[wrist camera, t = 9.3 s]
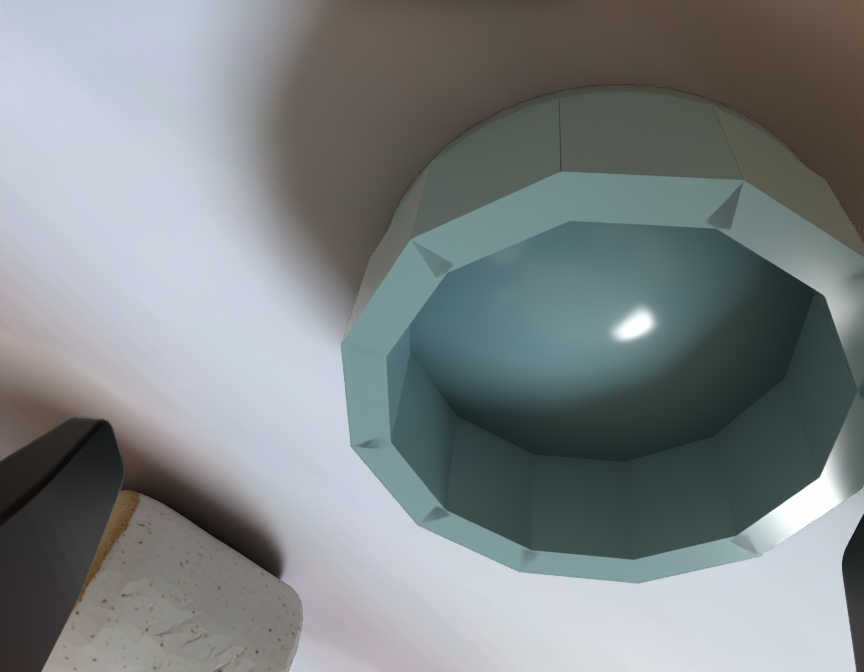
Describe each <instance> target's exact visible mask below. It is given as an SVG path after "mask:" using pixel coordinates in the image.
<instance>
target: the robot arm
mask: <svg viewBox="0 0 864 672" xmlns="http://www.w3.org/2000/svg"><path fill="white" fill-rule="evenodd" d="M124 474H125V467H124V462H123V458H122V455H121V452H120V449H119V446H118V443H117V440H116V436H115V433H114V430H113V427H112V425H111V424H110V423H109V422H108V421H107V420H105V419H103V418H94V417H85V416H75V417H72V418H70V419H68V420H67V421H65V422H63V423H62V424H60V425H58V426H57V427H55V428H53V429H52V430H50V431H49V432H47V433H45V434H44V435H42V436H40V437H39V438H37V439H35V440H34V441H32V442H31V443H29V444H27V445H26V446H24V447H22V448H21V449H19V450H17V451H16V452H14V453H13V454H11V455H9V456H8V457H6V458H4V459H3V460H1V461H0V672H42V670H43V668H44V666H45V664H46V662H47V660H48V658H49V656H50V654H51V652H52V650H53V648H54V646H55V644H56V642H57V640H58V638H59V636H60V634H61V632H62V630H63V629H64V627H65V625H66V623H67V621H68V619H69V617H70V615H71V613H72V611H73V609H74V606H75V604H76V602H77V600H78V598H79V596H80V594H81V592H82V589H83V587H84V584H85V582H86V580H87V577H88V575H89V572H90V569H91V567H92V564H93V561H94V559H95V556H96V553H97V551H98V548H99V545H100V543H101V540H102V537H103V535H104V532H105V529H106V527H107V524H108V521H109V519H110V516H111V513H112V511H113V508H114V505H115V503H116V500H117V497H118V495H119V492H120V489H121V487H122V484H123V480H124ZM842 573H843V581H844V588H845V595H846V602H847V609H848V616H849V623H850V630H851V637H852V644H853V651H854V658H855V665H856V672H864V514H863V516H862V518H861V520H860V522H859V524H858V526H857V528H856V529H855V531H854V533H853V535H852V537H851V539H850V541H849V543H848V545H847V547H846V549H845V551H844V555H843V560H842Z"/></svg>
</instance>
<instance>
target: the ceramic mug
mask: <svg viewBox="0 0 864 672" xmlns="http://www.w3.org/2000/svg"><path fill="white" fill-rule="evenodd" d="M302 621H303V613H302V603H301V600H300V598H299V596H298V594H297V593H296V592H295V591H294V589H293V588H292V587H291V586H289V585H288V584H286V583H284V582H283V581H281V580H280V579H278V578H276V577H275V576H273V575H272V574H270V573H269V572H267V571H266V570H264V569H263V568H261V567H260V566H258V565H257V564H255V563H254V562H252V561H251V560H249V559H248V558H246V557H245V556H243V555H242V554H240V553H239V552H237V551H235V550H234V549H232V548H231V547H229V546H227V545H226V544H224V543H222V542H221V541H219V540H218V539H216V538H214V537H213V536H211V535H210V534H208V533H207V532H205V531H204V530H202V529H201V528H200V527H198V526H197V525H195V524H194V523H192V522H191V521H189V520H188V519H186V518H185V517H183V516H182V515H180V514H179V513H177V512H176V511H174V510H173V509H171V508H169V507H168V506H166V505H164V504H163V503H161V502H159V501H157V500H154V499H152V498H150V497H148V496H145V495H143V494H140V493H138V492H135V491H132V490H120V492H119V495H118V497H117V500H116V503H115V505H114V508H113V511H112V513H111V516H110V519H109V521H108V524H107V527H106V529H105V532H104V535H103V537H102V540H101V543H100V545H99V548H98V551H97V553H96V556H95V559H94V561H93V564H92V567H91V569H90V572H89V575H88V577H87V580H86V582H85V584H84V587H83V589H82V592H81V594H80V596H79V598H78V600H77V602H76V604H75V606H74V609H73V611H72V613H71V615H70V617H69V619H68V621H67V623H66V625H65V627H64V629H63V630H62V632H61V634H60V636H59V638H58V640H57V642H56V644H55V646H54V648H53V650H52V652H51V654H50V656H49V658H48V660H47V662H46V664H45V666H44V668H43V670H42V672H289V670H290V667H291V664H292V662H293V659H294V657H295V654H296V652H297V648H298V643H299V639H300V634H301V628H302Z"/></svg>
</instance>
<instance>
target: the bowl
mask: <svg viewBox="0 0 864 672" xmlns="http://www.w3.org/2000/svg"><path fill="white" fill-rule="evenodd" d="M341 351H342V361H343V371H344V381H345V392H346V402H347V412H348V423H349V433H350V443H351V447H352V449H353V450H354V451H355V452H356V453H357V455H358V456H359V457H360V458H361V459H362V460H363V462H364V463H365V464H366V465H367V466H368V467H369V469H370V470H371V471H372V472H373V473H374V475H375V476H376V477H377V478H378V479H379V480H380V482H381V483H382V484H383V485H384V486H385V488H386V489H387V490H388V491H389V492H390V493H391V495H392V496H393V497H394V498H395V499H396V500H397V502H398V503H399V504H400V505H401V506H402V508H403V509H404V510H405V511H406V512H407V513H408V515H409V516H410V517H411V518H412V519H413V520H414V522H415V523H416V524H417V525H418V526H420V527H422V528H425V529H427V530H429V531H431V532H433V533H435V534H438V535H440V536H442V537H444V538H446V539H448V540H451V541H453V542H455V543H457V544H459V545H461V546H464V547H466V548H468V549H470V550H472V551H475V552H477V553H479V554H481V555H483V556H485V557H488V558H490V559H492V560H494V561H496V562H498V563H501V564H503V565H505V566H507V567H509V568H511V569H514V570H516V571H518V572H524V573H535V574H545V575H555V576H566V577H576V578H587V579H597V580H607V581H618V582H628V583H643V582H647V581H652V580H656V579H661V578H665V577H670V576H674V575H679V574H683V573H688V572H692V571H697V570H701V569H706V568H710V567H715V566H719V565H724V564H728V563H733V562H737V561H742V560H746V559H751V558H756V557H759V556H761V555H763V554H764V553H766V552H767V551H769V550H770V549H772V548H773V547H775V546H776V545H778V544H779V543H781V542H782V541H784V540H785V539H787V538H788V537H790V536H791V535H793V534H794V533H796V532H797V531H799V530H800V529H802V528H803V527H805V526H806V525H808V524H809V523H811V522H812V521H814V520H815V519H817V518H818V517H820V516H821V515H823V514H824V513H826V512H827V511H829V510H831V509H832V508H834V507H835V506H837V505H838V504H840V503H841V502H843V501H844V500H846V499H847V498H849V497H850V496H852V495H853V494H855V493H856V492H858V491H859V490H861V489H862V487H863V485H864V243H863V241H862V239H861V238H860V236H859V234H858V233H857V231H856V229H855V228H854V226H853V224H852V223H851V221H850V219H849V218H848V216H847V214H846V213H845V211H844V209H843V208H842V206H841V204H840V203H839V201H838V199H837V198H836V196H835V194H834V193H833V191H832V189H831V188H830V186H829V184H828V183H827V181H826V180H825V179H824V178H822V177H821V176H819V175H818V174H816V173H815V172H813V171H812V170H810V169H809V168H807V167H806V166H805V165H804V164H803V163H802V161H801V160H800V159H799V158H798V157H797V156H796V155H795V154H794V153H793V152H792V151H791V150H790V148H789V147H788V146H787V145H786V144H785V143H784V142H782V141H781V140H780V139H778V138H777V137H776V136H775V135H773V134H772V133H771V132H770V131H768V130H767V129H766V128H764V127H763V126H762V125H761V124H759V123H757V122H755V121H753V120H752V119H750V118H748V117H746V116H745V115H743V114H741V113H739V112H738V111H736V110H734V109H732V108H730V107H727V106H724V105H722V104H719V103H717V102H714V101H712V100H709V99H706V98H704V97H701V96H697V95H693V94H689V93H685V92H681V91H676V90H672V89H668V88H660V87H650V86H640V85H597V86H589V87H583V88H576V89H569V90H563V91H558V92H555V93H551V94H547V95H544V96H540V97H537V98H533V99H530V100H526V101H524V102H522V103H519V104H517V105H515V106H512V107H510V108H507V109H505V110H503V111H500V112H498V113H496V114H494V115H492V116H490V117H489V118H487V119H485V120H484V121H482V122H480V123H478V124H477V125H475V126H473V127H472V128H470V129H468V130H467V131H465V132H464V133H463V134H461V135H460V136H459V137H458V138H456V139H455V140H454V141H452V142H451V143H450V144H449V145H447V146H446V147H445V148H443V149H442V150H441V151H440V152H439V153H438V154H437V155H436V156H435V157H434V158H433V159H432V160H431V161H430V162H429V163H428V164H427V165H426V166H425V167H424V169H423V170H422V171H421V172H420V173H419V175H418V176H417V177H416V179H415V180H414V181H413V183H412V184H411V186H410V187H409V188H408V190H407V191H406V192H405V194H404V196H403V198H402V199H401V201H400V203H399V205H398V207H397V209H396V211H395V213H394V215H393V217H392V219H391V222H390V225H389V228H388V231H387V232H386V234H385V235H384V237H383V238H382V240H381V242H380V243H379V245H378V246H377V248H376V250H375V251H374V253H373V254H372V256H371V257H370V259H369V262H368V265H367V268H366V271H365V274H364V277H363V280H362V283H361V286H360V289H359V292H358V295H357V298H356V301H355V304H354V307H353V310H352V313H351V316H350V319H349V322H348V325H347V328H346V331H345V334H344V337H343V340H342V343H341Z"/></svg>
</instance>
